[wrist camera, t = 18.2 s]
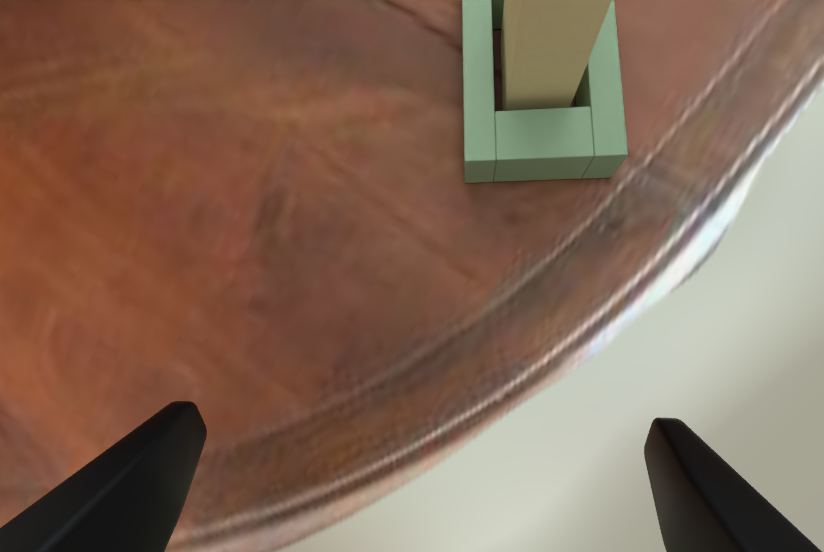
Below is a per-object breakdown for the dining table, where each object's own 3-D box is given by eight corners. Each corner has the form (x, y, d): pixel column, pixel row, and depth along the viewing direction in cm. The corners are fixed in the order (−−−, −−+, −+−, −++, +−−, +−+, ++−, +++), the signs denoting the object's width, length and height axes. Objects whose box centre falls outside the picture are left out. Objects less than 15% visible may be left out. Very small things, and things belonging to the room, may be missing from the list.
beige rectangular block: (564, 123, 23) (634, -55, 14) (503, 126, 24) (528, -46, 14) (558, 35, 24) (619, -189, 15) (499, 39, 25) (521, -177, 15)
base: (611, 178, 23) (628, 154, 20) (464, 183, 23) (464, 161, 21) (595, -18, 25) (609, -60, 22) (461, -7, 26) (461, -47, 23)
